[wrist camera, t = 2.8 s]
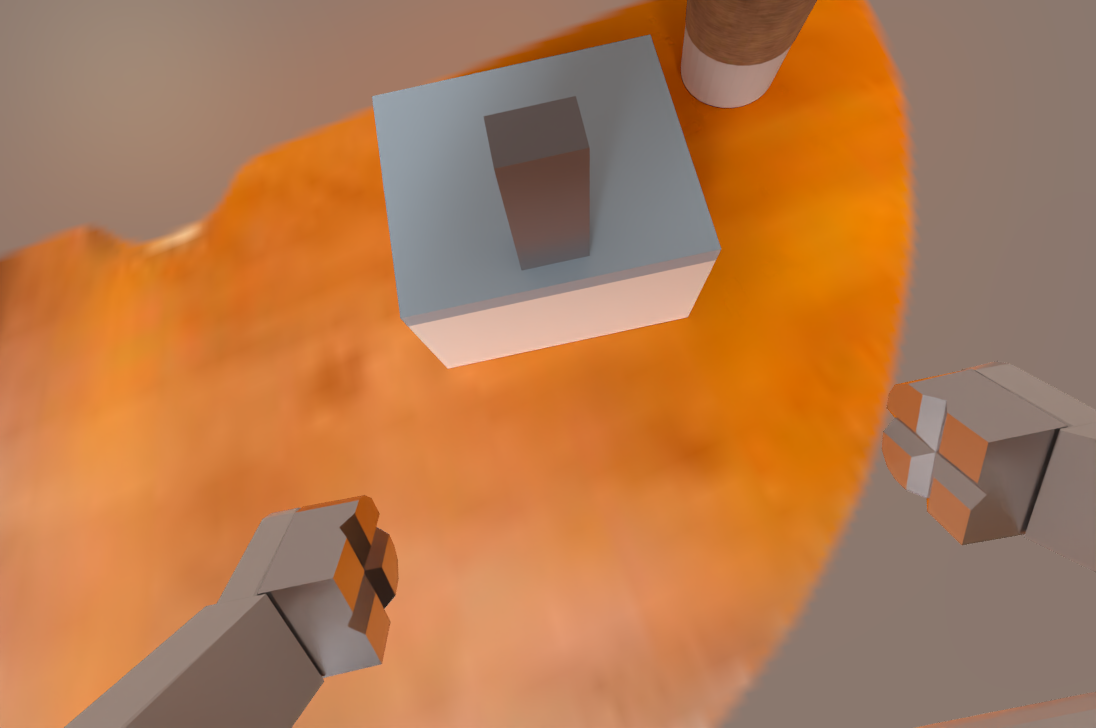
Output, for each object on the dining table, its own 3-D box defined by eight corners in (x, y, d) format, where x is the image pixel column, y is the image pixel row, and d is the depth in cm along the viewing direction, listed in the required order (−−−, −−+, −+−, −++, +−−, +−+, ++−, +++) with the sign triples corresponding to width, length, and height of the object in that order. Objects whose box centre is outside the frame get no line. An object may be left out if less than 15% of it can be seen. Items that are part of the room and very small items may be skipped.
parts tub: (447, 368, 30) (408, 326, 24) (421, 191, 34) (379, 111, 27) (687, 317, 30) (715, 260, 24) (636, 144, 34) (648, 51, 27)
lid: (415, 333, 25) (322, 235, 16) (386, 125, 28) (297, -49, 20) (710, 270, 25) (777, 135, 16) (645, 67, 28) (671, -134, 19)
